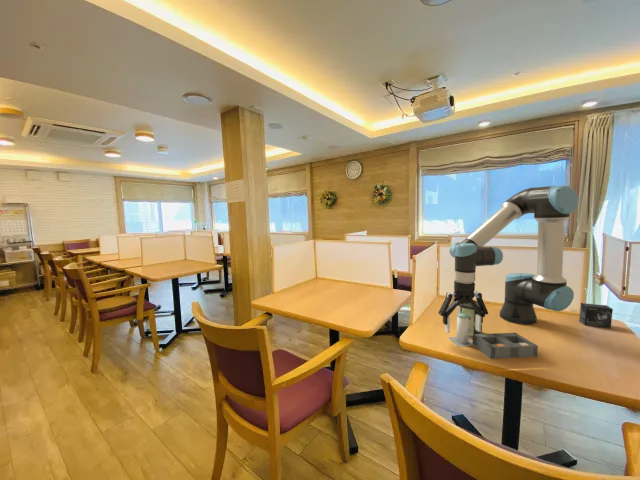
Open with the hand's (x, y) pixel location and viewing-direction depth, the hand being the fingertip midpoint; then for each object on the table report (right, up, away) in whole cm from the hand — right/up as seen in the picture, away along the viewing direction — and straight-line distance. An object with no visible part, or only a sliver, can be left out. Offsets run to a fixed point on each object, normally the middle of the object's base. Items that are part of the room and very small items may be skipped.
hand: (462, 331), depth 113 cm
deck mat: (0, -5, +1) cm, 5 cm away
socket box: (+12, -5, -7) cm, 15 cm away
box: (+70, -2, +14) cm, 72 cm away
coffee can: (+7, -4, +9) cm, 12 cm away
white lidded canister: (0, -5, +1) cm, 5 cm away
